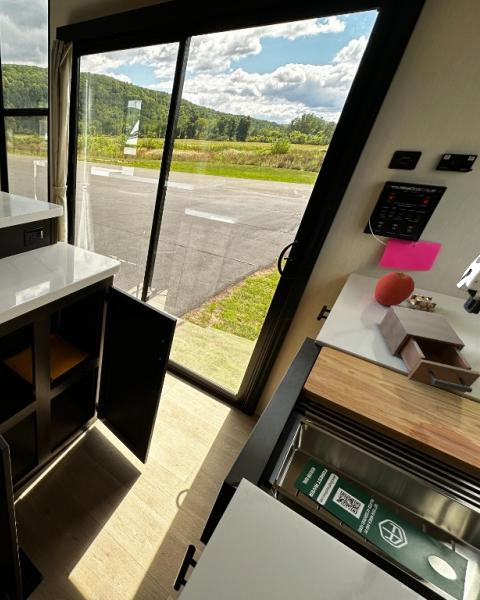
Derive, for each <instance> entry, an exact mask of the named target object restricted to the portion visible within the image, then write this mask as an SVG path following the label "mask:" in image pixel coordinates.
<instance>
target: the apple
mask: <svg viewBox="0 0 480 600" xmlns="http://www.w3.org/2000/svg"><path fill="white" fill-rule="evenodd" d="M415 284H416V283H415V281H414V279H413V277H411V276H410V275H408V274H406V273H404V271H402V272H396V271H394V272H393V271H392V272H389V273H387V274H384V275H383V276H382V277H380V278H379V279H378V281H377V283H376V285H375V288H374V299H375V300H376V301H377V303H379V304H380V305H383V306H387V307H391V305H392V306H399V305H401V304H402V303H403V302H405V301H406V300H407V299H409V298H410V297H411V296H412V294H413V293H414V292H415Z"/></svg>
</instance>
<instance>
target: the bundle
mask: <svg viewBox="0 0 480 600" xmlns="http://www.w3.org/2000/svg"><path fill="white" fill-rule="evenodd" d="M432 299H433V297H432V296H428V295H426V294H422V295H421V294H420V293H416V294H415V293H412V294H411V295H410V296H409V298H408V301H407V302H408V303H410V304H411V309H415V310H420V311H426V312H432V313H434V311H435V308H436V307H437V305H438V303H437V302H433V301H432Z"/></svg>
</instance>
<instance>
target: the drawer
mask: <svg viewBox="0 0 480 600" xmlns="http://www.w3.org/2000/svg"><path fill="white" fill-rule="evenodd" d="M399 353H400V355H401V357H400V358H401V359H402V361H403V363H404V365H405V367H406V369H407V371H408V373H409V374H408V375H407V379H408V380H409V381H414V382H417V383H420V384H425V385H429V386H434V387H438V388H442V389H445V390H449V391H450V390H451V391H454V392H458V393H462V394H465V393H469V394H471V393H472V392H473V388H472V387H471V386H472V385H474V384H475V382H476V381H477V380H478V379H479V378H480V371H476V370H472V369H473V368H472V367H471V365H470V363H469V362H468V361H467V360H466V358H465V357H464V355H463V354H462V352H461V351H459V350H458V348H457V347H456V346H454V345H449V344H444V343H440V342H435V341H430V340H425V339H420V338H415V337H410V336H409V337H408V338H407V340H406V341H405V343H404V344H403V346H402V347H401V349H400V350H399Z"/></svg>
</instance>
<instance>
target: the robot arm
mask: <svg viewBox="0 0 480 600" xmlns="http://www.w3.org/2000/svg"><path fill="white" fill-rule="evenodd" d="M456 288H457V289H458V290H460V291H463V292H467V293H468V295H469V297H468V298H467V300H466V301H465V302H464V304H463V309H464V310H465V311H466V312H467V314H473V315H478V314H479V313H480V254H479V255H478V256H477V257H476V259H474V260H473V262H472V263H471V264H470V265H469V266H468V267H467V269H466V270H465V271H464V273H463V274H462V276H461V278H460V282H458V283H457V284H456Z"/></svg>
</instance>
